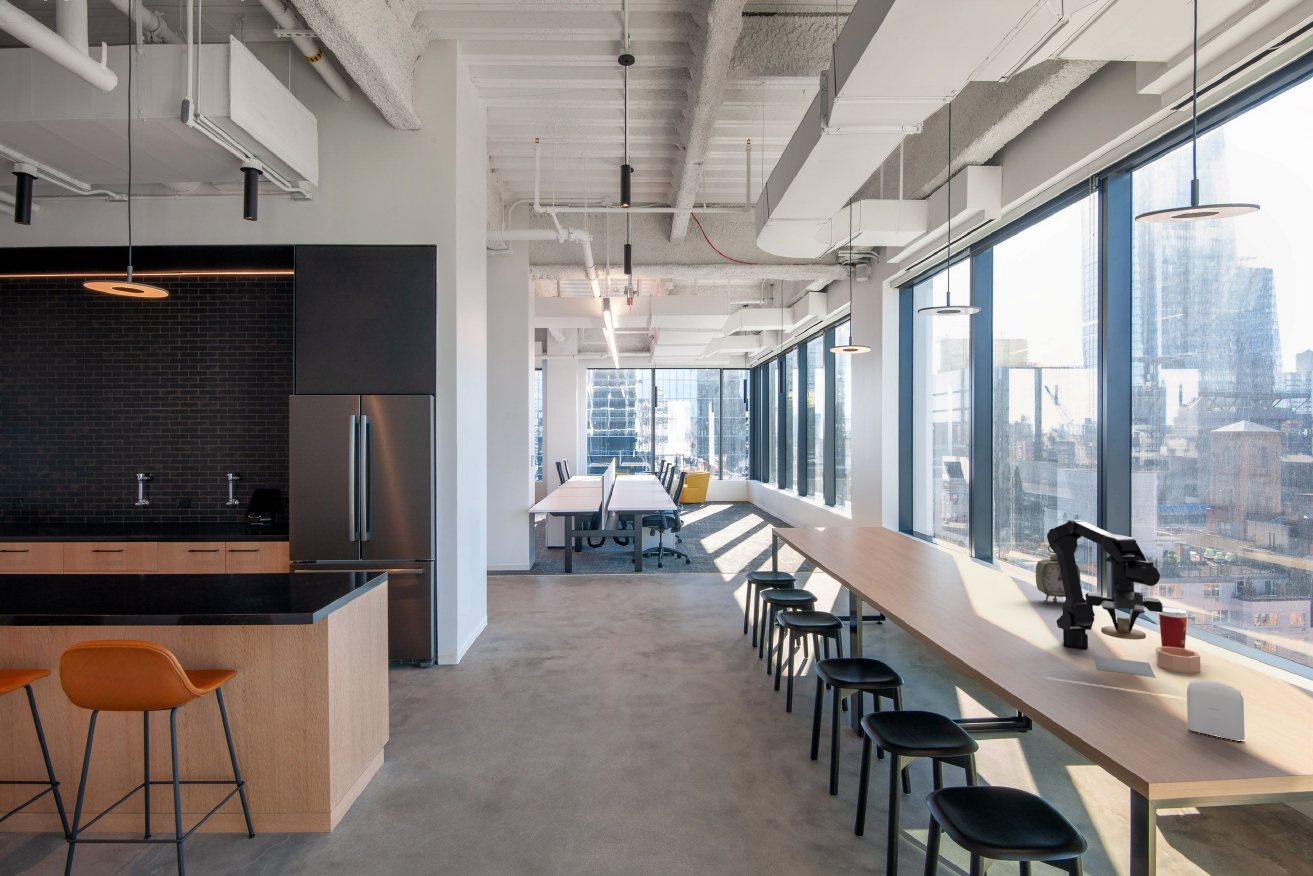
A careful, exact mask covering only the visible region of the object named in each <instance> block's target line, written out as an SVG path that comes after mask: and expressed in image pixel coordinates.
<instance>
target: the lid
mask: <svg viewBox="0 0 1313 876" xmlns="http://www.w3.org/2000/svg"><path fill="white" fill-rule="evenodd" d="M1129 618H1130V617H1125V616H1116V620H1117V630H1116V629H1115V626H1114V625H1111V626H1108V625H1107V626H1103V627H1101V628H1100V632H1101V633H1102V634H1104V635H1106V636H1109V637H1112V638H1118V639H1123V640H1137V641H1138V640H1144V639H1146V638H1147V633H1145V632H1144V631H1142V630H1138V629H1135V628H1132V630H1131V632H1129Z"/></svg>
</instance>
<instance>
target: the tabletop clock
mask: <svg viewBox="0 0 1313 876" xmlns="http://www.w3.org/2000/svg"><path fill="white" fill-rule="evenodd" d="M1047 551H1048V552H1049V553H1052V554H1051V555H1050V557H1049V559H1041V560H1038V561H1037V563H1036V567H1035V582H1036V584H1035V585H1036V587H1037V589H1038V591H1039V592H1040V593H1043V594H1045V595H1046V596H1045V599H1044V600H1043V603H1044V604H1045V603H1047V604H1049V600H1048V599H1049V598H1050V597H1053V598H1052V601H1053V602H1054V601H1056V602H1057V601H1058V599H1057V598H1066V596H1065V592H1064V587H1063V582H1062V577H1061V572H1060V567H1059V562H1058V557H1057V555H1056V554H1055V552H1054V551H1053V550H1050V545H1048V546H1047ZM1076 565H1077V570H1078V575H1079V580H1080V582H1081V571H1080V568H1079V566H1078V564H1076Z"/></svg>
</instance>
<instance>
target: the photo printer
mask: <svg viewBox="0 0 1313 876" xmlns="http://www.w3.org/2000/svg"><path fill="white" fill-rule="evenodd" d="M1188 682H1189V683H1188V685H1187V688H1186V706H1187V709H1186V712H1187V715H1186V716H1187V729H1188V728H1189V729H1190V730H1195V731H1199V732H1204V733H1208V734H1212V735H1217V736H1220V737H1223V738H1227V739H1232V740H1240V741H1241V740H1244V739H1245V737H1246V736H1245V733H1246V732H1245V710H1244V709H1245V707H1244V706H1245V704H1244V697H1243V695H1242V694H1241V693H1242V692H1241V691H1242V690H1241V689H1239V688H1236V687H1233V686H1231V685H1229V684H1226V683H1220V682H1217V681H1212V680H1189V681H1188ZM1227 739H1226V740H1227ZM1232 740H1231V741H1232ZM1245 740H1246V739H1245Z"/></svg>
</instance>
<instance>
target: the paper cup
mask: <svg viewBox="0 0 1313 876" xmlns="http://www.w3.org/2000/svg"><path fill="white" fill-rule="evenodd" d="M1157 614H1158V618H1159V631H1160V632H1159V633H1160V641H1161V647H1165V646H1168V647H1177V648H1184V649H1186V637H1187V619H1188V617H1189V615H1188V613H1187V611H1186V610H1184V609H1180V608H1174V607H1163V612H1157Z"/></svg>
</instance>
